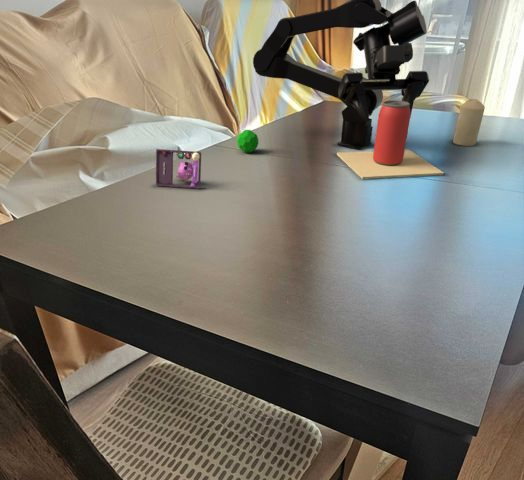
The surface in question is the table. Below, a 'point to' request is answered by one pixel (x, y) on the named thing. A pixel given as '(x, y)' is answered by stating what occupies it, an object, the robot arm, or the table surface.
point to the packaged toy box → (185, 169)
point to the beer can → (391, 132)
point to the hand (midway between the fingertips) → (388, 121)
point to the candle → (469, 122)
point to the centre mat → (388, 166)
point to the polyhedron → (247, 141)
